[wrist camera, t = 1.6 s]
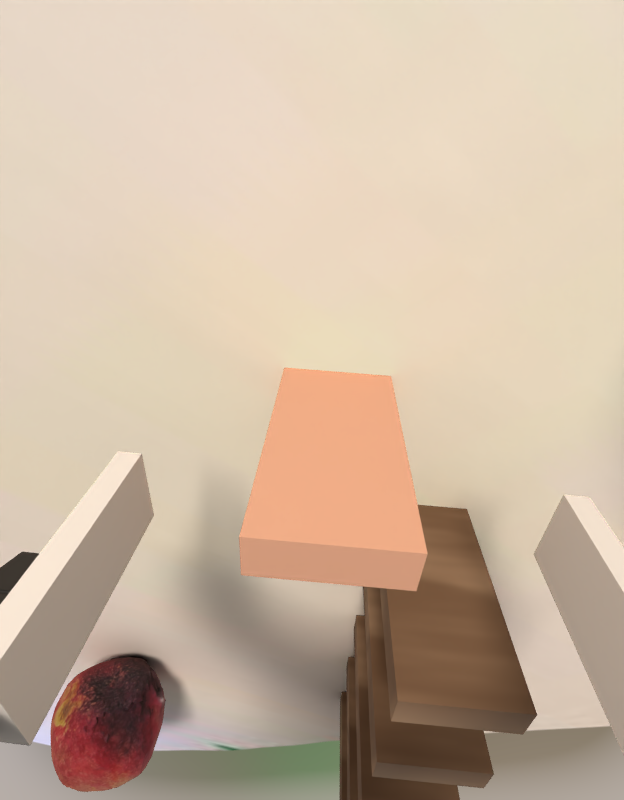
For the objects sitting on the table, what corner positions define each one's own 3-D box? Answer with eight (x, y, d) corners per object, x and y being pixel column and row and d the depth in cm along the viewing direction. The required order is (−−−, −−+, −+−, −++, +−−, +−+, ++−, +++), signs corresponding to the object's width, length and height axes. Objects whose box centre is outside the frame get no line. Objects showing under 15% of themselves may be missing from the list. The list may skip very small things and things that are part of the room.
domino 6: (439, 587, 27) (483, 788, 19) (363, 580, 27) (371, 776, 19) (445, 571, 26) (493, 774, 18) (366, 564, 27) (376, 762, 18)
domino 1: (385, 405, 20) (416, 591, 12) (283, 396, 21) (241, 575, 12) (390, 376, 20) (427, 553, 11) (284, 367, 20) (239, 536, 11)
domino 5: (460, 528, 24) (522, 734, 16) (374, 521, 25) (390, 721, 16) (466, 509, 24) (537, 715, 15) (378, 501, 24) (397, 701, 15)
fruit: (76, 665, 36) (13, 788, 29) (99, 622, 32) (33, 751, 25) (162, 693, 37) (121, 815, 31) (193, 655, 34) (155, 785, 27)
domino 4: (423, 634, 30) (455, 827, 22) (354, 628, 30) (358, 817, 22) (427, 621, 29) (462, 817, 21) (356, 615, 29) (362, 806, 21)
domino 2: (398, 706, 36) (415, 881, 27) (340, 701, 36) (339, 873, 27) (401, 697, 35) (420, 875, 26) (342, 691, 35) (341, 866, 27)
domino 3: (409, 673, 33) (433, 857, 24) (346, 667, 33) (347, 848, 25) (413, 663, 32) (438, 849, 24) (348, 656, 32) (350, 840, 24)
